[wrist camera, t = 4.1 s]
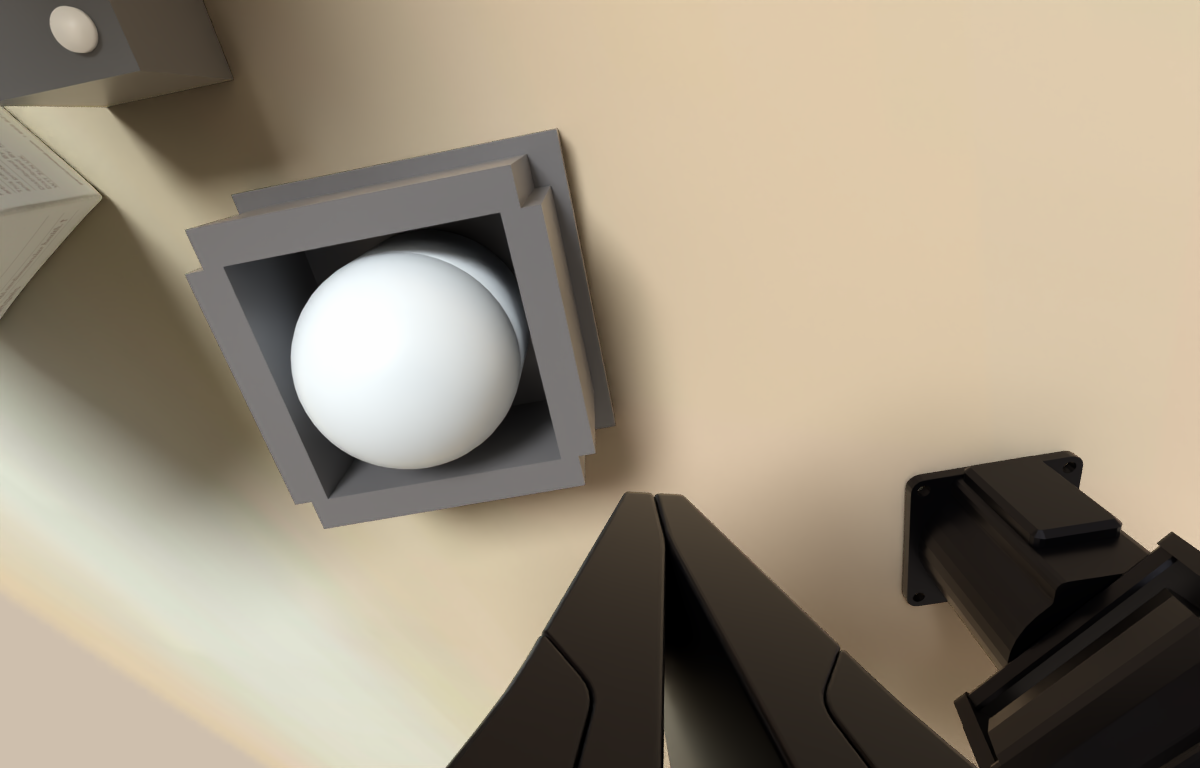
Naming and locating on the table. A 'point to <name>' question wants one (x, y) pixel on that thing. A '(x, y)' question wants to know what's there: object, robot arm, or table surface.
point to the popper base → (359, 223)
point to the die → (105, 51)
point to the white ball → (412, 350)
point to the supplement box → (34, 205)
